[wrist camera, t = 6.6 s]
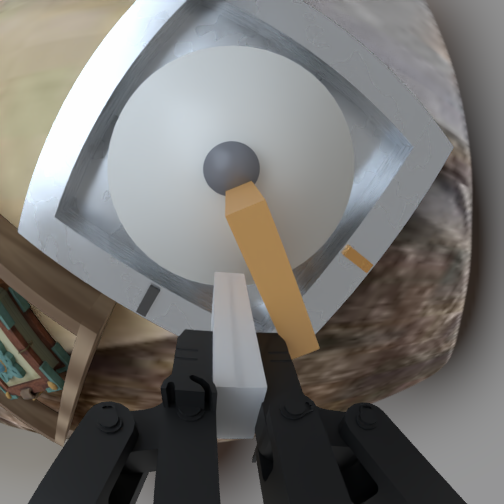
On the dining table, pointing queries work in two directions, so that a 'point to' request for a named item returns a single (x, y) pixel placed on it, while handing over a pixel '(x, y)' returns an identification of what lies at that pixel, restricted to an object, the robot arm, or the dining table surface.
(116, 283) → the dial panel
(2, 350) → the decorative book
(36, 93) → the dining table surface
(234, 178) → the dial
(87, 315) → the book tray
